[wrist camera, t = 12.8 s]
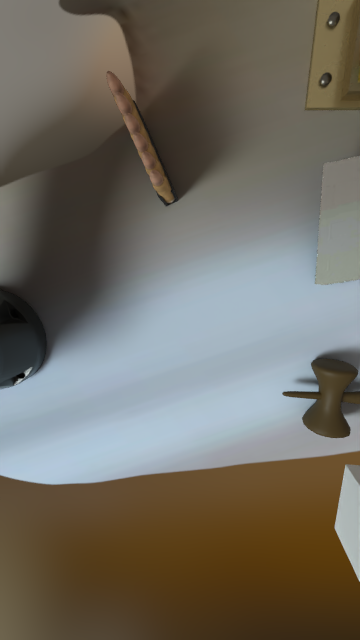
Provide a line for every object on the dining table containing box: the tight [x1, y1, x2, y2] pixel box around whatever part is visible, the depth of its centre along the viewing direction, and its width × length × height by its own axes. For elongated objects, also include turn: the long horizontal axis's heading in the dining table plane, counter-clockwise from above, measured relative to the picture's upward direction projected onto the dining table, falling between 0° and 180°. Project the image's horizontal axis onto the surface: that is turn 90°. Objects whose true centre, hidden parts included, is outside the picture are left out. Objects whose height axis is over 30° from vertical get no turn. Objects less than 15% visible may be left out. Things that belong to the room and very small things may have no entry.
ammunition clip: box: [107, 71, 178, 206], centre depth 31 cm, size 11×2×12 cm, turn 25°
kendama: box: [283, 359, 360, 438], centre depth 39 cm, size 6×10×20 cm
